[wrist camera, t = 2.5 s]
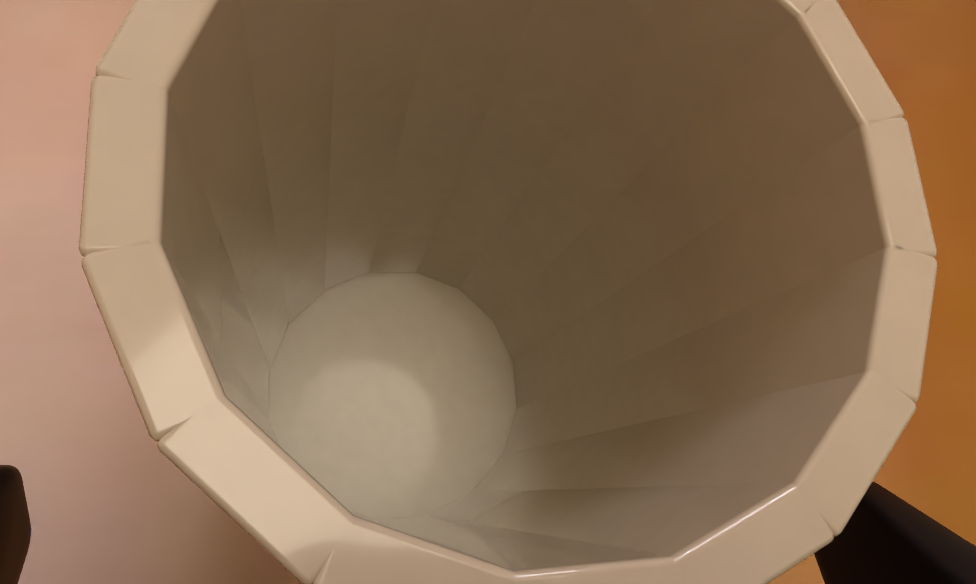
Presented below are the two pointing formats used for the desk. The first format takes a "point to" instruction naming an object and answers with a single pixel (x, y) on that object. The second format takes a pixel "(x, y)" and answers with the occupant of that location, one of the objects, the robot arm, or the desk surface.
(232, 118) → the cup
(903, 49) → the desk surface
